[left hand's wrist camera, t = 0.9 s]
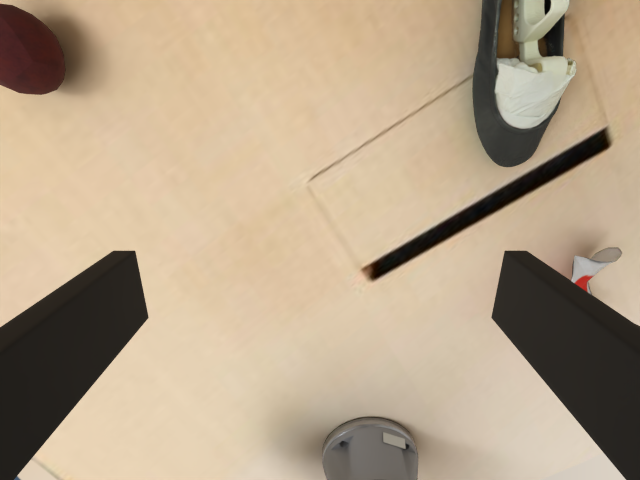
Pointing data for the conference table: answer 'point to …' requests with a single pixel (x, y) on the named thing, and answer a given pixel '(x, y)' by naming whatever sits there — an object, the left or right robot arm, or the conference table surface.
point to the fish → (592, 266)
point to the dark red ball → (28, 53)
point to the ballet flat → (519, 75)
